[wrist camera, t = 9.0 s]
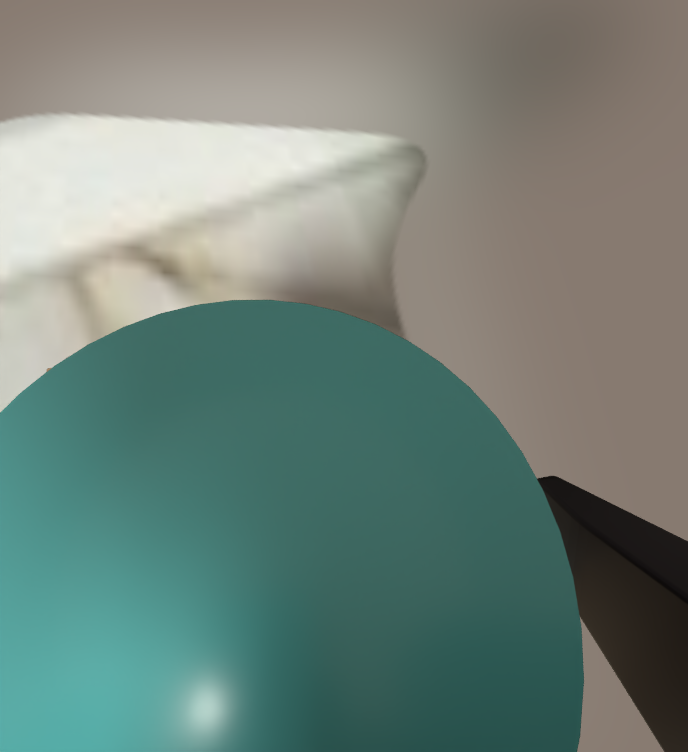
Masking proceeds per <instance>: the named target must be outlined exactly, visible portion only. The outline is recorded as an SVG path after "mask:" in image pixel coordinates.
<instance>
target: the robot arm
mask: <svg viewBox="0 0 688 752" xmlns="http://www.w3.org/2000/svg"><path fill="white" fill-rule="evenodd" d="M537 480H538V482H539V484H540V485H541V487H542V489H543V491H544V494H545V496H546V499H547V501H548V503H549V506H550V508H551V511H552V513H553V516H554V518H555V520H556V523H557V525H558V528H559V530H560V533H561V536H562V540H563V543H564V547H565V550H566V554H567V557H568V561H569V565H570V568H571V572H572V575H573V579H574V585H575V591H576V597H577V604H578V610H579V616H580V617H581V619H582V620H583V622H584V623H585V625H586V627H587V628H588V630H589V632H590V633H591V635H592V636H593V638H594V640H595V641H596V643H597V644H598V646H599V648H600V649H601V651H602V653H603V654H604V656H605V657H606V659H607V660H608V662H609V664H610V665H611V667H612V669H613V670H614V672H615V673H616V675H617V677H618V678H619V680H620V681H621V683H622V685H623V686H624V688H625V689H626V691H627V693H628V694H629V696H630V697H631V699H632V701H633V702H634V704H635V705H636V707H637V709H638V710H639V712H640V714H641V715H642V717H643V718H644V720H645V722H646V723H647V725H648V726H649V728H650V730H651V731H652V733H653V734H654V736H655V738H656V739H657V741H658V742H659V744H660V746H661V747H662V749H663V750H664V752H688V541H686V540H684V539H682V538H680V537H678V536H676V535H673V534H672V533H670V532H668V531H666V530H664V529H662V528H660V527H658V526H656V525H654V524H651V523H650V522H647V521H645V520H643V519H641V518H639V517H637V516H635V515H633V514H631V513H629V512H627V511H625V510H623V509H621V508H619V507H617V506H615V505H613V504H611V503H609V502H607V501H605V500H603V499H601V498H599V497H597V496H595V495H593V494H591V493H589V492H587V491H585V490H583V489H581V488H579V487H577V486H575V485H573V484H571V483H569V482H567V481H565V480H563V479H561V478H559V477H556V476H548V477H543V478H538V479H537Z"/></svg>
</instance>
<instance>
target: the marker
mask: <svg viewBox="0 0 688 752" xmlns="http://www.w3.org/2000/svg"><path fill="white" fill-rule="evenodd" d="M581 630H582V629H581V622H580V616H579V610H578V604H577V597H576V591H575V585H574V579H573V575H572V572H571V568H570V565H569V561H568V557H567V554H566V550H565V547H564V543H563V540H562V536H561V533H560V530H559V528H558V525H557V523H556V520H555V518H554V516H553V513H552V511H551V508H550V506H549V503H548V501H547V499H546V496H545V494H544V491H543V489H542V487H541V485H540V484H539V482H538V480H537V478H536V477H535V475H534V473H533V471H532V469H531V468H530V466H529V464H528V462H527V460H526V458H525V457H524V455H523V453H522V451H521V450H520V449H519V447H518V446H517V444H516V443H515V442H514V440H513V439H512V437H511V436H510V435H509V433H508V432H507V430H506V429H505V428H504V426H503V425H502V424H501V422H500V421H499V419H498V418H497V417H496V416H495V415H494V413H493V412H492V411H491V410H490V409H489V408H488V407H487V406H486V405H485V404H484V403H483V402H482V400H481V399H480V398H479V397H478V396H477V395H476V394H475V393H474V392H473V391H472V389H471V388H470V387H469V386H467V385H466V384H465V383H464V382H463V381H461V380H460V379H459V378H458V377H457V376H456V375H455V374H453V373H452V372H451V371H450V370H449V369H447V368H446V367H445V366H444V365H443V364H442V363H440V362H439V361H438V360H436V359H435V358H433V357H432V356H430V355H429V354H427V353H426V352H424V351H423V350H421V349H420V348H418V347H417V346H415V345H414V344H412V343H411V342H409V341H407V340H405V339H403V338H401V337H399V336H397V335H395V334H394V333H392V332H390V331H388V330H386V329H384V328H382V327H380V326H378V325H376V324H373V323H370V322H367V321H365V320H362V319H359V318H356V317H354V316H351V315H348V314H345V313H343V312H339V311H335V310H330V309H326V308H322V307H317V306H313V305H309V304H303V303H294V302H284V301H275V300H231V301H223V302H216V303H208V304H200V305H194V306H190V307H186V308H182V309H178V310H174V311H170V312H165V313H161V314H158V315H155V316H153V317H150V318H147V319H144V320H142V321H139V322H136V323H134V324H131V325H128V326H125V327H123V328H121V329H119V330H117V331H115V332H113V333H111V334H109V335H107V336H105V337H103V338H101V339H99V340H97V341H95V342H93V343H91V344H89V345H87V346H85V347H84V348H82V349H81V350H79V351H77V352H76V353H74V354H73V355H71V356H70V357H68V358H66V359H65V360H63V361H62V362H60V363H59V364H57V365H55V366H54V367H53V368H51V369H50V370H49V371H48V372H46V373H45V374H44V375H43V376H41V377H40V378H39V379H38V380H36V381H35V382H34V383H32V384H31V385H30V386H29V387H27V388H26V389H25V390H24V391H22V392H21V393H20V394H19V395H18V396H17V397H16V398H15V399H14V400H13V401H12V402H11V403H10V404H9V405H8V406H7V407H6V408H5V409H4V410H3V411H2V412H1V413H0V752H577V748H578V744H579V738H580V728H581V714H582V699H583V686H584V685H583V684H584V673H583V653H582V631H581Z"/></svg>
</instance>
